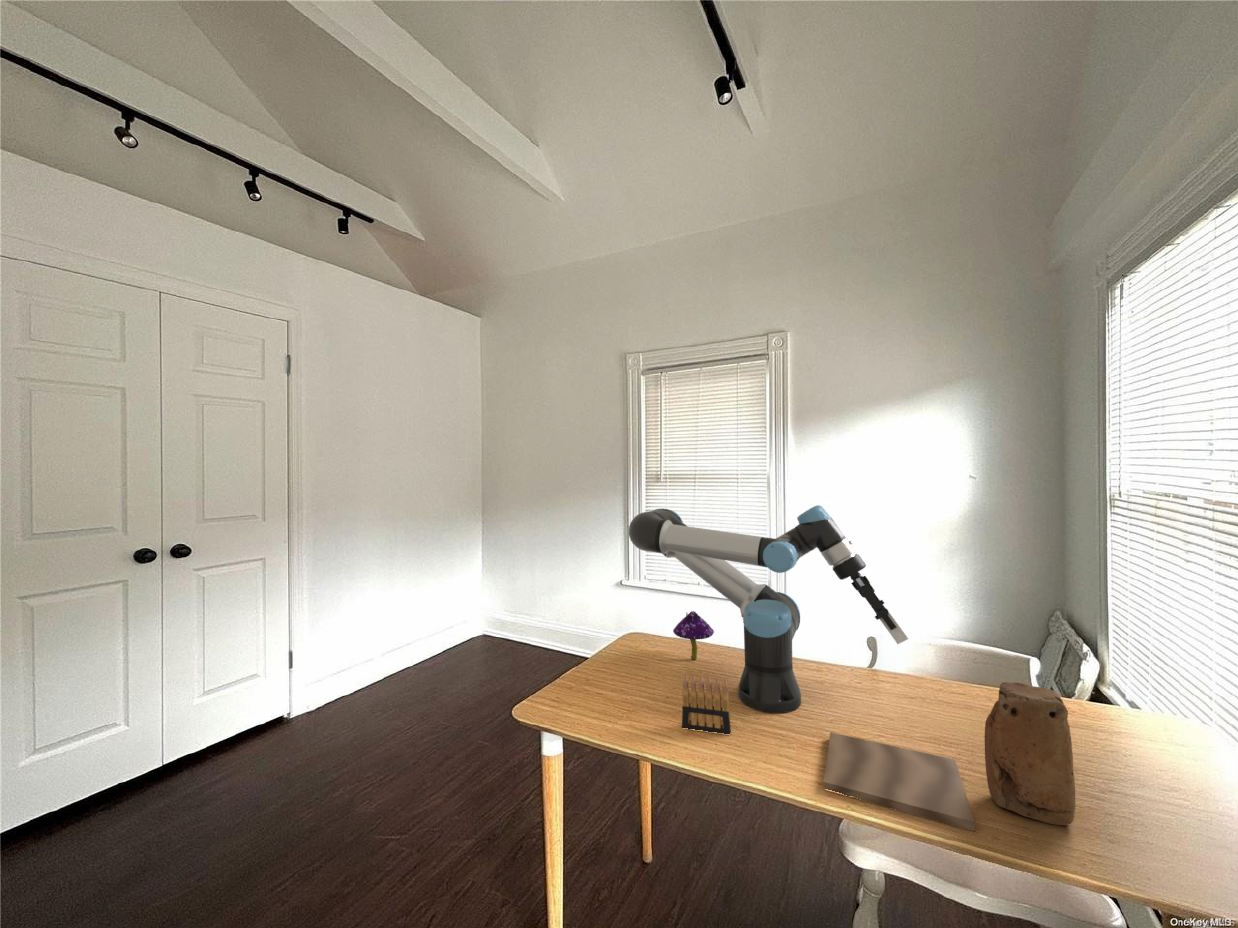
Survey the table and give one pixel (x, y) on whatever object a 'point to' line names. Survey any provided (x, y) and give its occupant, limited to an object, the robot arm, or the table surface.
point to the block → (1030, 754)
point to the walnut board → (898, 779)
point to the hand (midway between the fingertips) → (898, 635)
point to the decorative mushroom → (693, 630)
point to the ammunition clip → (705, 707)
